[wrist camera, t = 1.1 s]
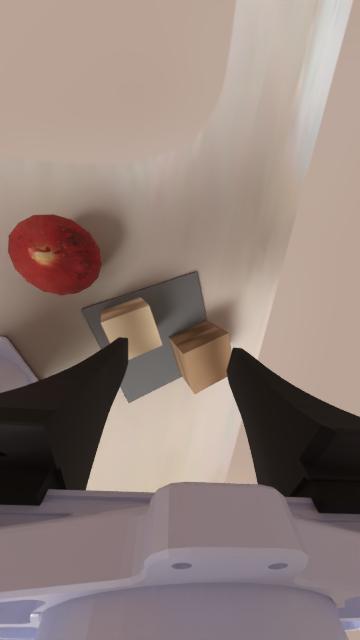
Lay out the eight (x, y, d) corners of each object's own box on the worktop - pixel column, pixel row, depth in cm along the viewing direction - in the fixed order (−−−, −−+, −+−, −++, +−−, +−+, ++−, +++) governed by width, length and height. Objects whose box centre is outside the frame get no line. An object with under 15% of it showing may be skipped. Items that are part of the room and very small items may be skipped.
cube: (117, 344, 21) (119, 363, 17) (101, 310, 19) (100, 322, 15) (152, 330, 22) (162, 345, 18) (140, 297, 20) (149, 305, 16)
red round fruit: (76, 214, 16) (55, 176, 9) (113, 271, 19) (118, 275, 12) (14, 243, 15) (-64, 225, 8) (62, 298, 18) (34, 322, 11)
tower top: (186, 381, 23) (194, 394, 21) (175, 344, 21) (183, 354, 19) (223, 362, 25) (234, 372, 23) (216, 326, 23) (228, 333, 20)
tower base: (179, 371, 26) (186, 381, 23) (168, 337, 23) (175, 344, 21) (213, 354, 27) (223, 362, 25) (206, 320, 25) (216, 326, 23)
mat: (128, 401, 24) (128, 403, 24) (82, 308, 19) (81, 309, 18) (213, 358, 28) (214, 359, 28) (195, 271, 22) (196, 271, 22)
